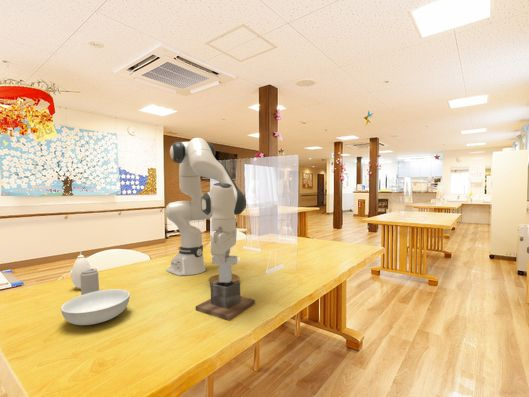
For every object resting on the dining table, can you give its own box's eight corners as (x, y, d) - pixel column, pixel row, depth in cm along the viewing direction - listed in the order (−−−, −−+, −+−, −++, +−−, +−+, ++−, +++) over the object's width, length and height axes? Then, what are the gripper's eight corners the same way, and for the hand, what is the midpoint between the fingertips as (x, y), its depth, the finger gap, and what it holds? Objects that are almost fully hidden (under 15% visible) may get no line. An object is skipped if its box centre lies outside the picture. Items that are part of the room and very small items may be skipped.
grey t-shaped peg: (212, 282, 105) (212, 257, 104) (215, 279, 107) (214, 255, 107) (235, 282, 103) (235, 257, 103) (237, 280, 106) (237, 255, 106)
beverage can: (102, 296, 119) (101, 268, 118) (89, 302, 113) (87, 273, 112) (91, 294, 121) (90, 267, 121) (77, 300, 115) (76, 271, 115)
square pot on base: (195, 310, 103) (194, 286, 103) (223, 295, 117) (223, 274, 116) (228, 320, 95) (228, 294, 94) (254, 303, 108) (254, 280, 108)
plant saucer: (202, 287, 128) (202, 281, 128) (218, 277, 142) (218, 272, 142) (231, 290, 123) (230, 285, 123) (244, 280, 137) (244, 274, 136)
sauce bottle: (70, 288, 129) (68, 250, 128) (89, 284, 134) (87, 247, 134) (74, 292, 123) (72, 252, 123) (94, 287, 129) (92, 249, 128)
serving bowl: (116, 301, 113) (115, 284, 113) (140, 315, 100) (140, 297, 100) (53, 321, 97) (52, 301, 97) (73, 341, 84) (72, 319, 84)
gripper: (223, 230, 94) (224, 270, 94) (238, 222, 114) (239, 255, 114) (205, 230, 95) (206, 269, 95) (224, 222, 115) (225, 255, 115)
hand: (224, 261), depth 105 cm, fingers closed on grey t-shaped peg, 3 cm apart
